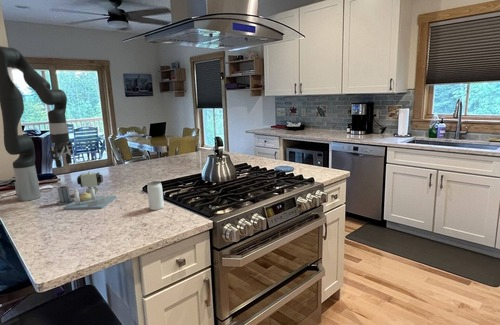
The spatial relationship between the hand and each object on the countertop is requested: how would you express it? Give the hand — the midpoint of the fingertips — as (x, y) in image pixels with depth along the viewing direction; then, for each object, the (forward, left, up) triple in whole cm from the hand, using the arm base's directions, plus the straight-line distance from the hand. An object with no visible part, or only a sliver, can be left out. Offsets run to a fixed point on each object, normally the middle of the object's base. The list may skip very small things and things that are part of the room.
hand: (64, 165), depth 154 cm
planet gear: (-2, -1, -19) cm, 19 cm away
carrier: (+12, -3, -19) cm, 23 cm away
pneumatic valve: (+4, +14, -19) cm, 24 cm away
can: (+47, -12, -19) cm, 52 cm away
